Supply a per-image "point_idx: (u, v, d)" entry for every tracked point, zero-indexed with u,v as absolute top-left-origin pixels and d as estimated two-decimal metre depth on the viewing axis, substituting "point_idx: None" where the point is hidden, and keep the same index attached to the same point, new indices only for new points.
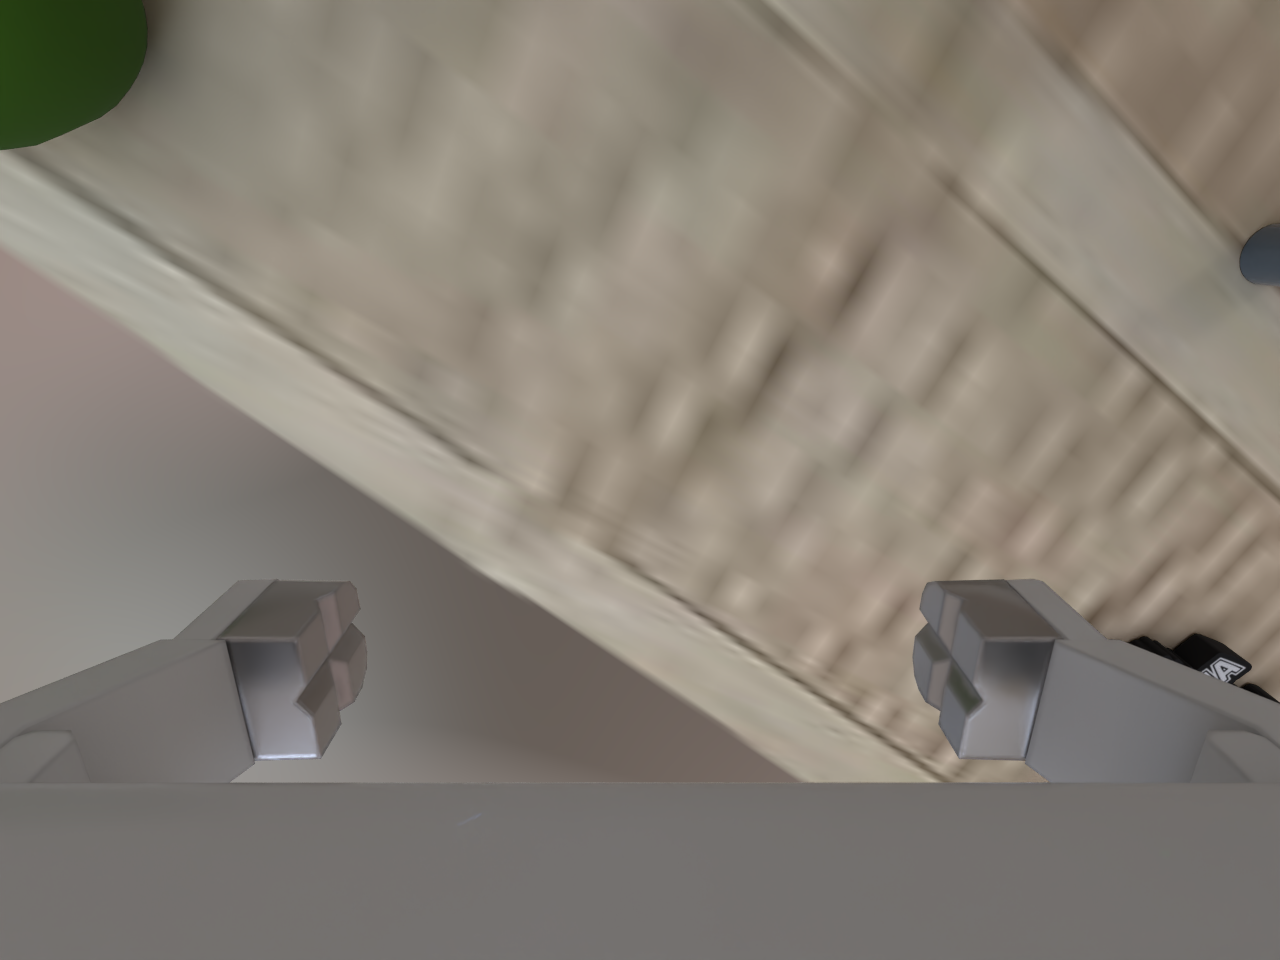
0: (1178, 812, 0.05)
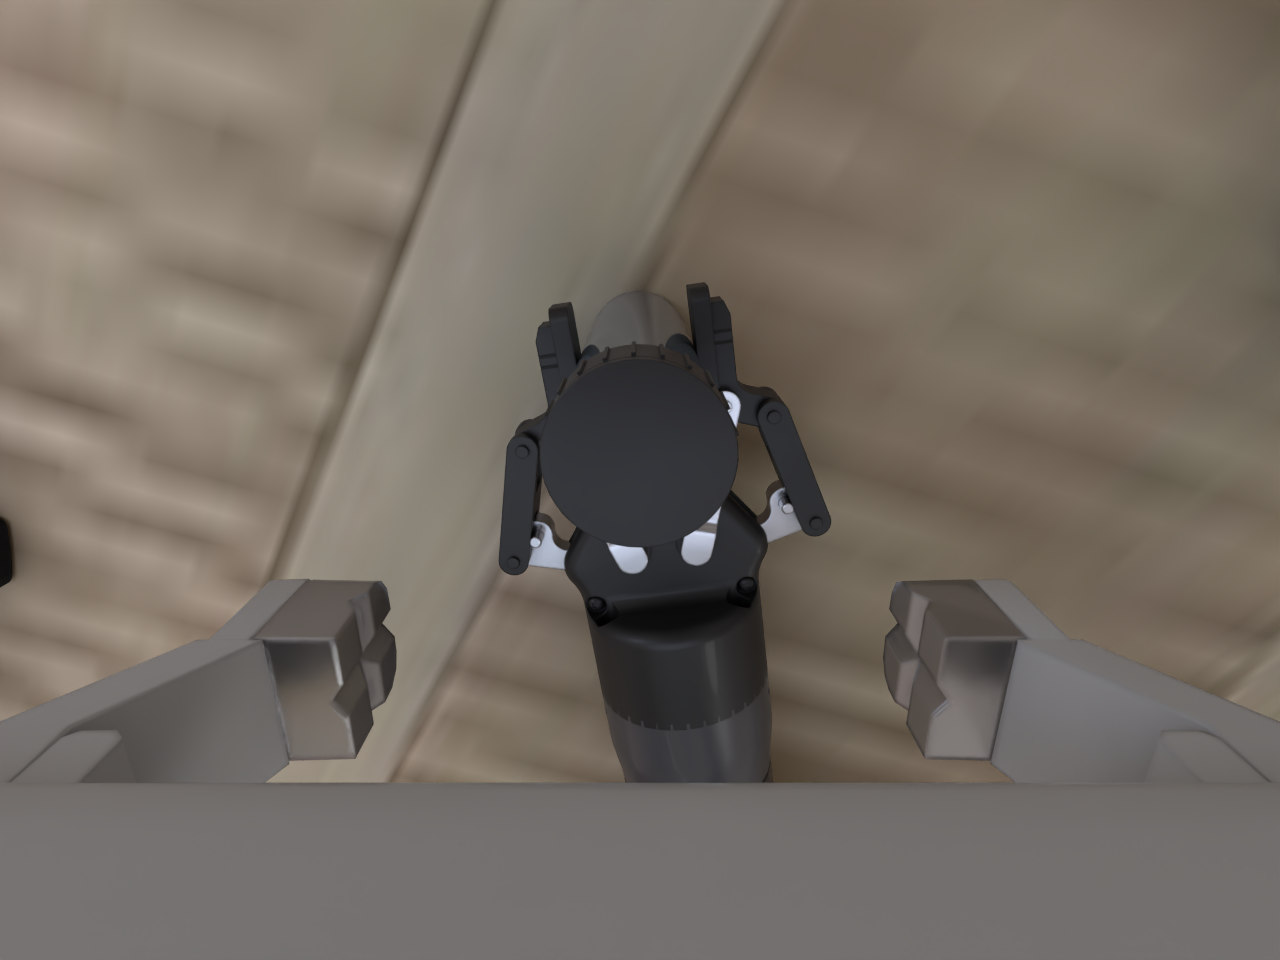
0: (1178, 812, 0.05)
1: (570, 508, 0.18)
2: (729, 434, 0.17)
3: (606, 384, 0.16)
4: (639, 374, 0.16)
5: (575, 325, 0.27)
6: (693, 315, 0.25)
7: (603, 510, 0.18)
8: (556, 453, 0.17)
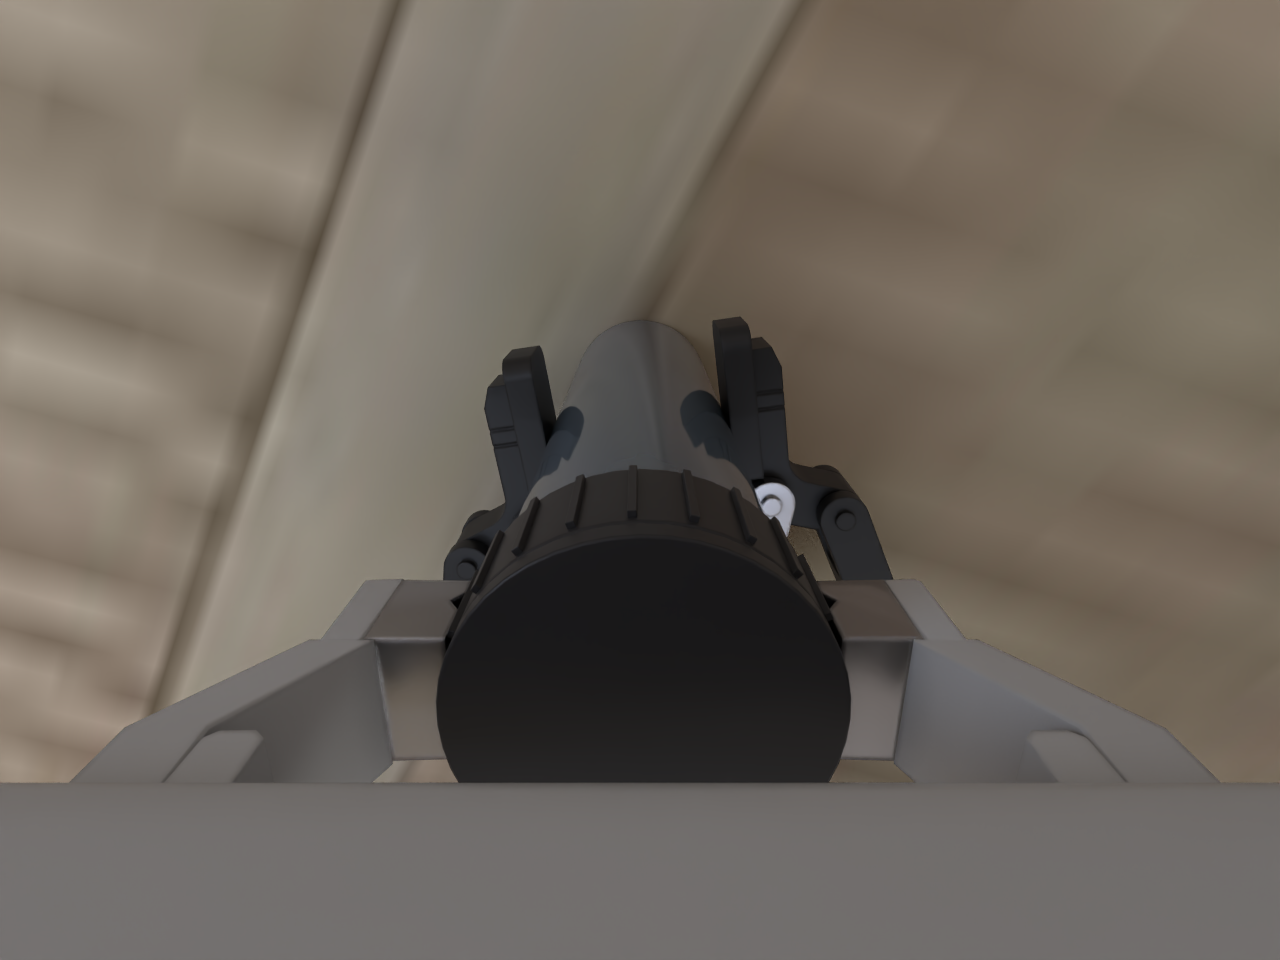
0: (1178, 812, 0.05)
1: None
2: (835, 680, 0.08)
3: (573, 585, 0.08)
4: (644, 566, 0.07)
5: (547, 379, 0.18)
6: (725, 370, 0.16)
7: None
8: (471, 715, 0.08)
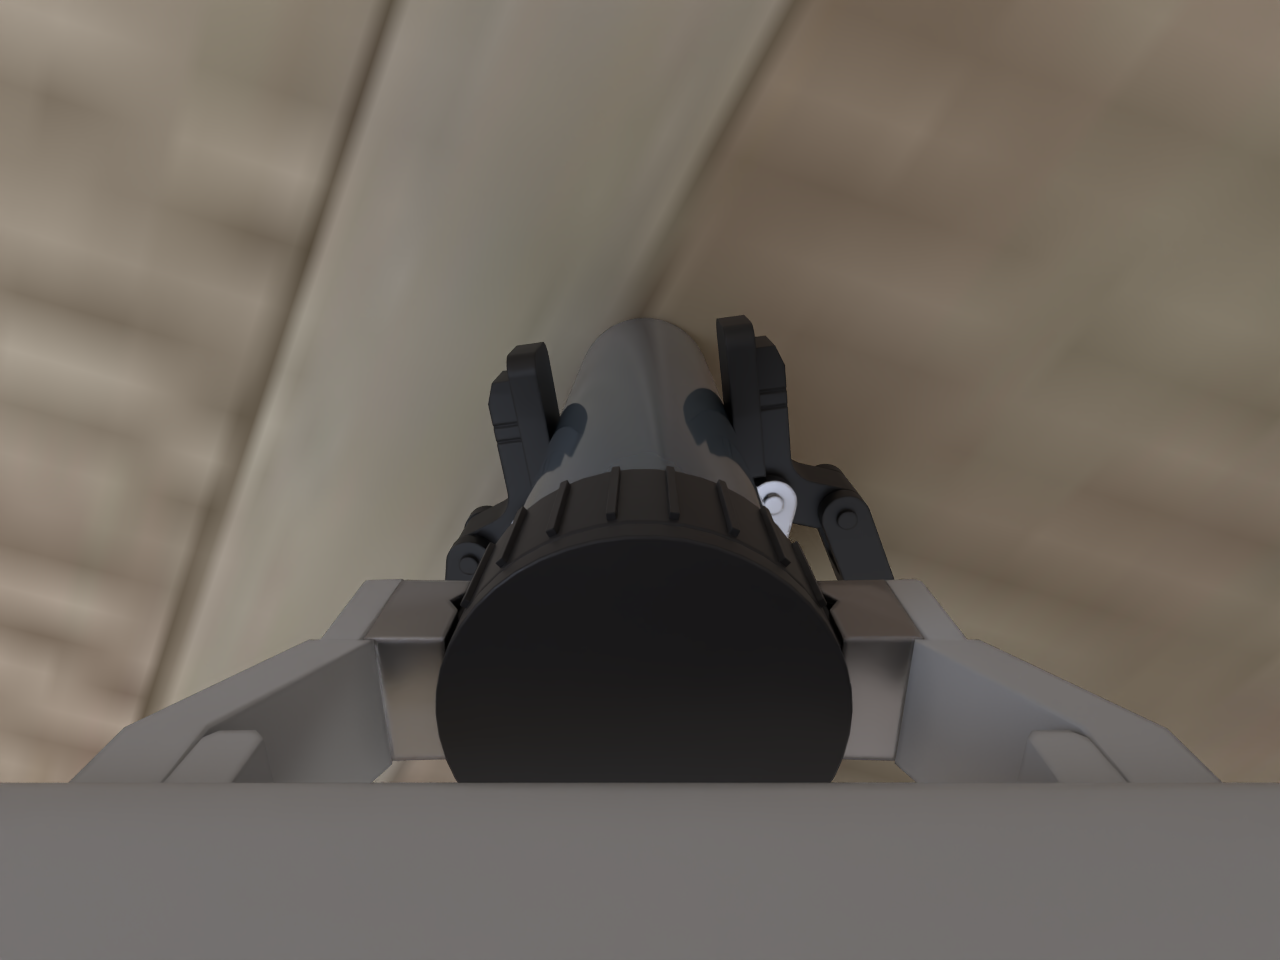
0: (1178, 812, 0.05)
1: None
2: (656, 551, 0.07)
3: (474, 733, 0.08)
4: (470, 676, 0.08)
5: (550, 375, 0.19)
6: (729, 368, 0.16)
7: None
8: None
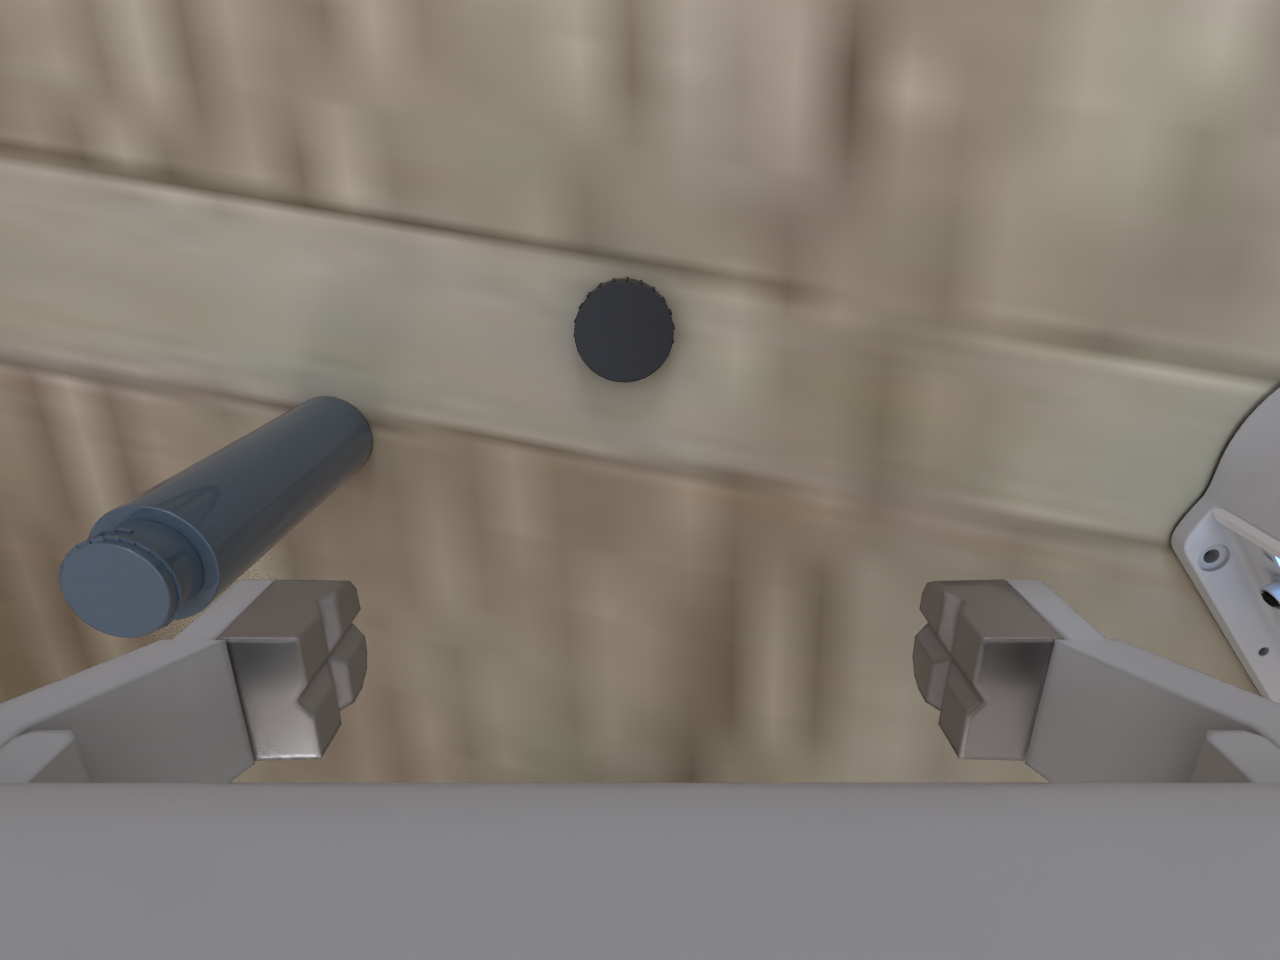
0: (1178, 812, 0.05)
1: (586, 356, 0.35)
2: (669, 326, 0.34)
3: (612, 293, 0.34)
4: (629, 290, 0.34)
5: None
6: None
7: (603, 359, 0.35)
8: (583, 326, 0.34)
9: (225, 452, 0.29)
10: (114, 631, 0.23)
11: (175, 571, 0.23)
